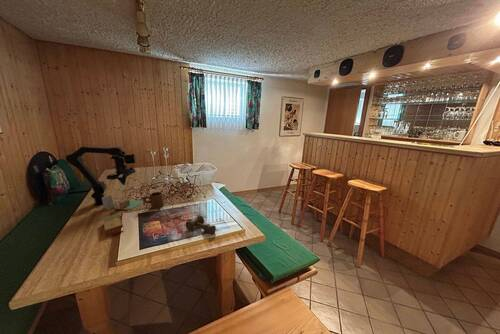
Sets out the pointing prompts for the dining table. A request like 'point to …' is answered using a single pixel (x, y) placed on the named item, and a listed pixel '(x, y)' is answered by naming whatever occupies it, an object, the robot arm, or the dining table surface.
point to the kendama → (199, 222)
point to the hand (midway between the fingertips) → (123, 184)
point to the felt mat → (134, 203)
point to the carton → (112, 225)
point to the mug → (155, 199)
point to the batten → (122, 208)
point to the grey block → (107, 202)
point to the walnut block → (122, 204)
